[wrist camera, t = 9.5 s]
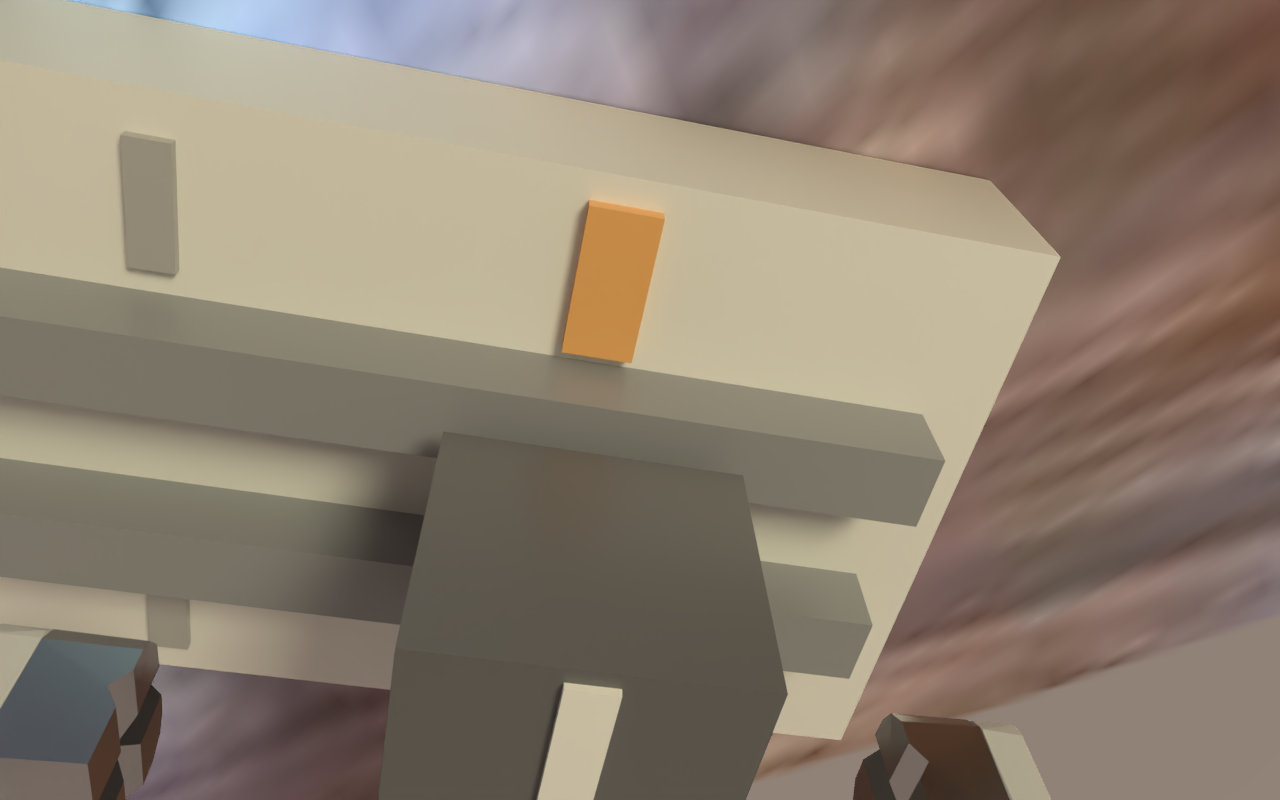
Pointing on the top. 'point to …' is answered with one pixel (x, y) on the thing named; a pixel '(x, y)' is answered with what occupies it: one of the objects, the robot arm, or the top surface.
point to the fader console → (453, 338)
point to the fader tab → (581, 633)
